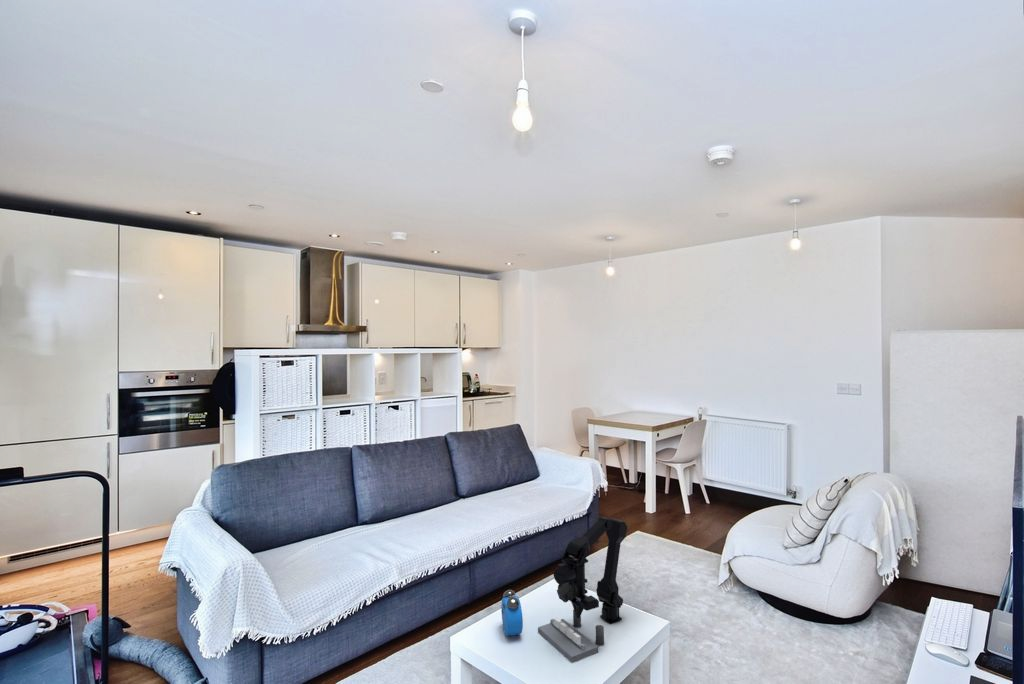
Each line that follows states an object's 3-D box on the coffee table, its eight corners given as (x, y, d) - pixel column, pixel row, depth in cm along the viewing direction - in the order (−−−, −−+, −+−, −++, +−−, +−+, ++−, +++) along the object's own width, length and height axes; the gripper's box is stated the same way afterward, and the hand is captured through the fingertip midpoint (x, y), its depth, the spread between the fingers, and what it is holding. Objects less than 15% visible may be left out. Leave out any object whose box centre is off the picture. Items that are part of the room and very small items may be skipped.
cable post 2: (600, 640, 184) (600, 624, 184) (605, 644, 182) (605, 627, 182) (594, 642, 183) (593, 626, 183) (599, 646, 180) (599, 630, 180)
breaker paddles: (555, 623, 191) (554, 615, 192) (583, 647, 176) (583, 638, 176) (552, 624, 191) (551, 616, 191) (580, 648, 175) (580, 639, 175)
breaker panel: (563, 623, 196) (562, 614, 196) (598, 652, 177) (598, 641, 177) (538, 632, 190) (537, 622, 190) (571, 662, 171) (571, 651, 171)
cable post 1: (577, 622, 196) (577, 607, 196) (582, 626, 194) (582, 611, 194) (571, 624, 195) (571, 609, 195) (576, 628, 192) (576, 613, 192)
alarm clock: (523, 641, 184) (522, 601, 184) (507, 643, 183) (506, 603, 183) (515, 623, 197) (515, 585, 197) (500, 625, 195) (500, 587, 196)
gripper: (546, 571, 191) (546, 612, 190) (575, 591, 174) (575, 635, 174) (569, 565, 196) (569, 604, 196) (599, 583, 180) (600, 626, 179)
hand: (578, 617), depth 186 cm, fingers closed
